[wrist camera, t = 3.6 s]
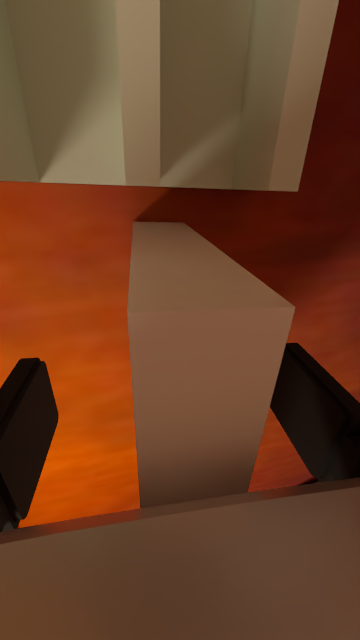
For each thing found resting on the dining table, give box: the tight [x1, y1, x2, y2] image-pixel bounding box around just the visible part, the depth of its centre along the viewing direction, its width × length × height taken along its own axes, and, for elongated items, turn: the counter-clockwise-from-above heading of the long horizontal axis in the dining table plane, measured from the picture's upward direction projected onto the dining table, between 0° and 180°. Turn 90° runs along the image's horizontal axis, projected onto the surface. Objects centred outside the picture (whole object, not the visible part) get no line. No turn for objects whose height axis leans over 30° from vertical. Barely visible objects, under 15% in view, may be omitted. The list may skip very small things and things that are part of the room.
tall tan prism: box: [127, 222, 295, 508], centre depth 10 cm, size 2×11×10 cm, turn 178°
